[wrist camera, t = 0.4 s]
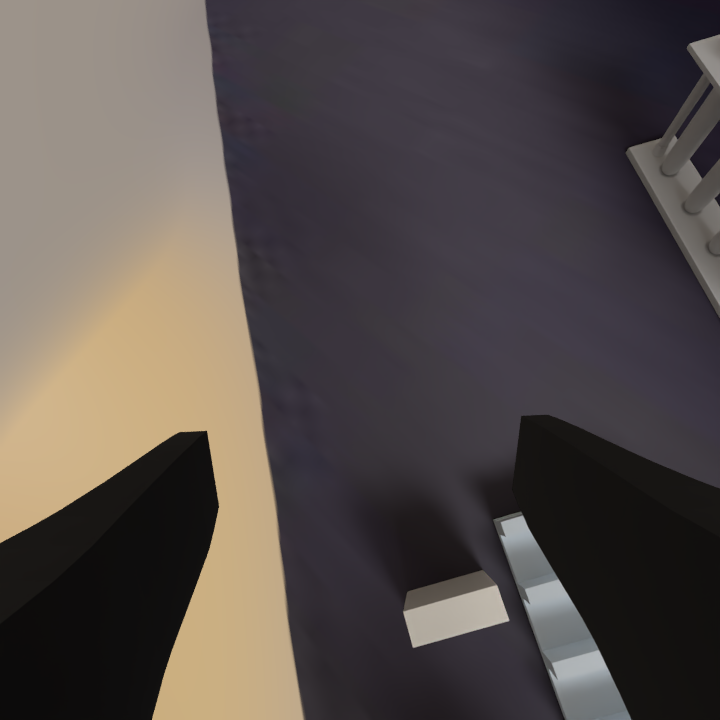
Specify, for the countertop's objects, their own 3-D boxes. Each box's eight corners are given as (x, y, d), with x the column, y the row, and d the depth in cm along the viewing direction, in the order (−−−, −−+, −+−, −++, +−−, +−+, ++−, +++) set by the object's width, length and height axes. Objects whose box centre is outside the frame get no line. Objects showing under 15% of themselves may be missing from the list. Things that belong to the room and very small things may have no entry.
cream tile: (492, 598, 33) (509, 620, 27) (415, 620, 33) (413, 647, 27) (482, 570, 34) (496, 584, 27) (407, 591, 34) (403, 611, 27)
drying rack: (733, 695, 29) (771, 718, 26) (571, 738, 30) (589, 767, 27) (630, 479, 34) (652, 476, 31) (492, 519, 35) (500, 520, 31)
